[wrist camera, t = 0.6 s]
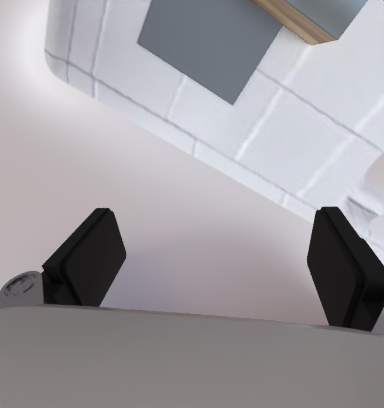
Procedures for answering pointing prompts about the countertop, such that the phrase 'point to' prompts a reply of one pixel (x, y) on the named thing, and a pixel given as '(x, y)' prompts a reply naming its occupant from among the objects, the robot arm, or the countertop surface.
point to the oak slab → (313, 17)
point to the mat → (210, 40)
